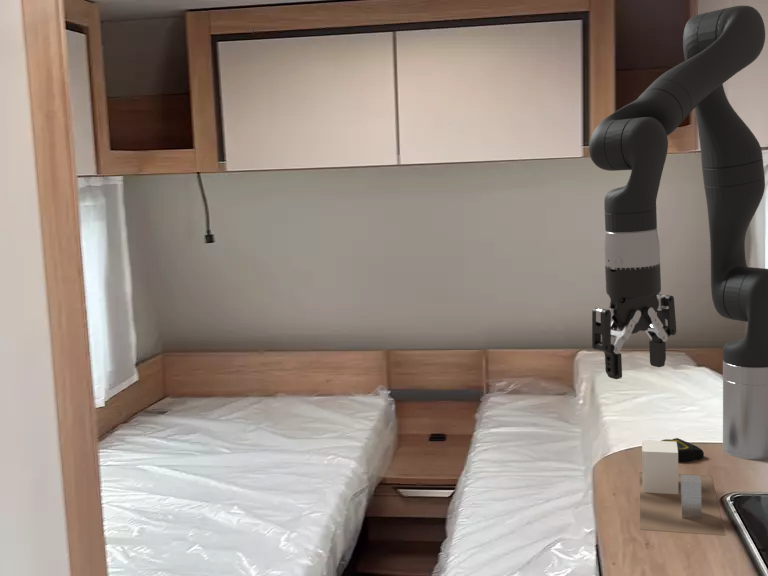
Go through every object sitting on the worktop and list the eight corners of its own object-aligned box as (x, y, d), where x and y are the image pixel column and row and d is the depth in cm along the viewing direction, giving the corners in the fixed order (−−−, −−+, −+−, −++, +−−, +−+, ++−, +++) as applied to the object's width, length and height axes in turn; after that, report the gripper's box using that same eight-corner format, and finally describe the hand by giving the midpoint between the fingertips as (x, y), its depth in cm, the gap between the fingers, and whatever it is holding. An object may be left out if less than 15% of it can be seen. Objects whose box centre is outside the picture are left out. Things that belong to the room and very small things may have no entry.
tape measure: (706, 467, 141) (706, 446, 141) (671, 474, 139) (671, 452, 139) (680, 455, 148) (680, 434, 147) (647, 461, 146) (647, 440, 145)
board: (639, 480, 137) (639, 471, 137) (711, 484, 134) (711, 475, 133) (640, 539, 116) (640, 529, 116) (725, 545, 113) (725, 535, 113)
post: (681, 510, 121) (680, 474, 120) (700, 511, 120) (699, 475, 119) (682, 518, 119) (681, 481, 118) (701, 519, 118) (701, 482, 117)
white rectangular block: (642, 479, 133) (641, 440, 132) (676, 481, 132) (676, 441, 131) (642, 492, 128) (642, 451, 127) (678, 494, 127) (678, 452, 126)
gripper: (648, 253, 124) (651, 358, 127) (575, 266, 118) (581, 377, 120) (688, 256, 118) (691, 367, 120) (614, 270, 111) (619, 387, 114)
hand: (636, 372), depth 120 cm, fingers open, 8 cm apart
